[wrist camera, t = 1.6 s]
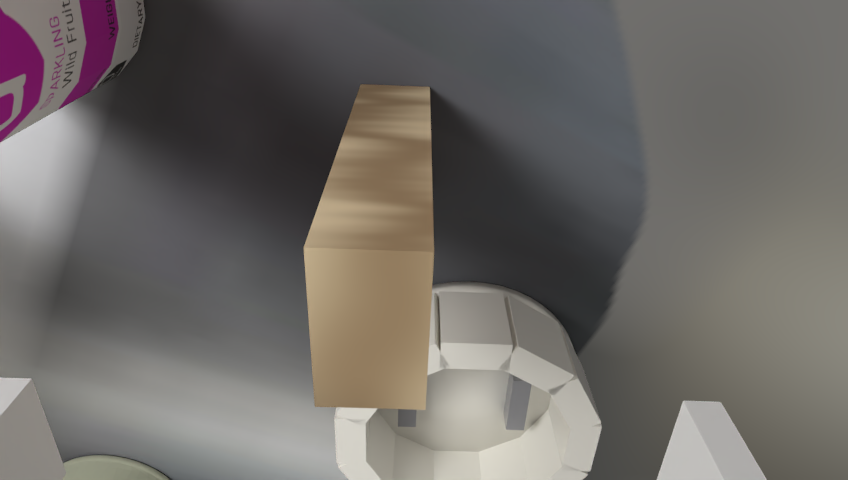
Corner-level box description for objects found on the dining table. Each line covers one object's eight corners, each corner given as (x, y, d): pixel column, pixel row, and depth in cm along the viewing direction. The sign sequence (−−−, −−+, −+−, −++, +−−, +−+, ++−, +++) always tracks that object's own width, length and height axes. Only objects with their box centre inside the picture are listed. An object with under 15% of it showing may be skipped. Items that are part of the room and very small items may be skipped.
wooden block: (362, 189, 28) (314, 406, 16) (360, 84, 26) (303, 247, 14) (425, 191, 28) (425, 409, 16) (429, 87, 26) (433, 252, 14)
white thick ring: (344, 277, 31) (330, 339, 26) (594, 285, 31) (622, 348, 27) (349, 451, 37) (339, 524, 33) (557, 458, 37) (574, 531, 33)
